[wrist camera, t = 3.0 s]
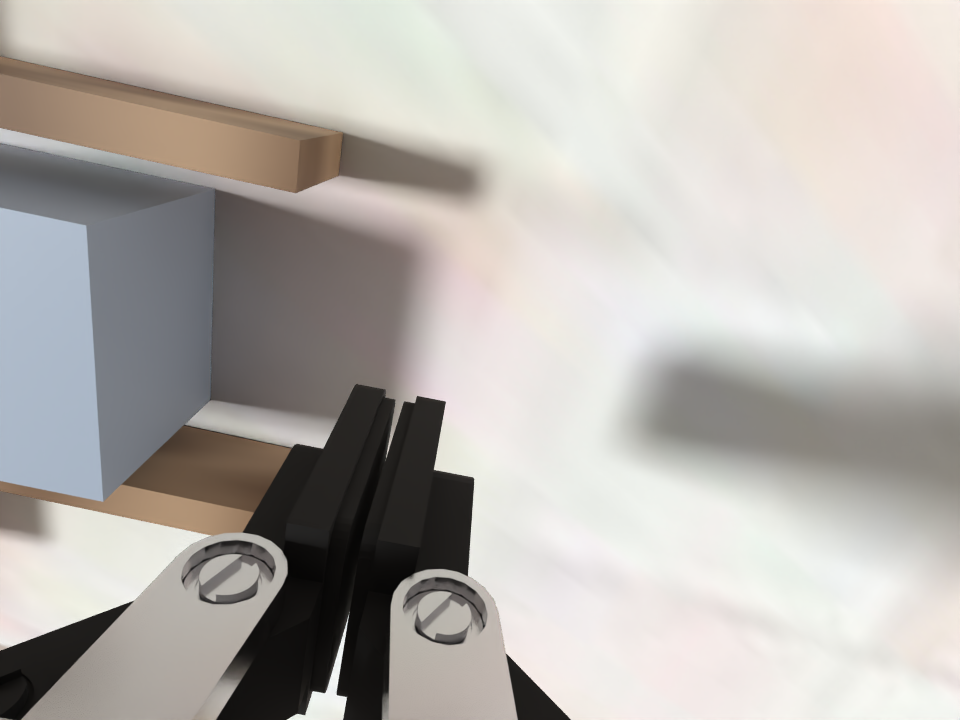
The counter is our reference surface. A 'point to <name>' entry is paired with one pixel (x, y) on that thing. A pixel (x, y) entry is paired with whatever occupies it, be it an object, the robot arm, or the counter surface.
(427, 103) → the counter surface
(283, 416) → the counter surface
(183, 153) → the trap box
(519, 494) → the counter surface
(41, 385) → the block
